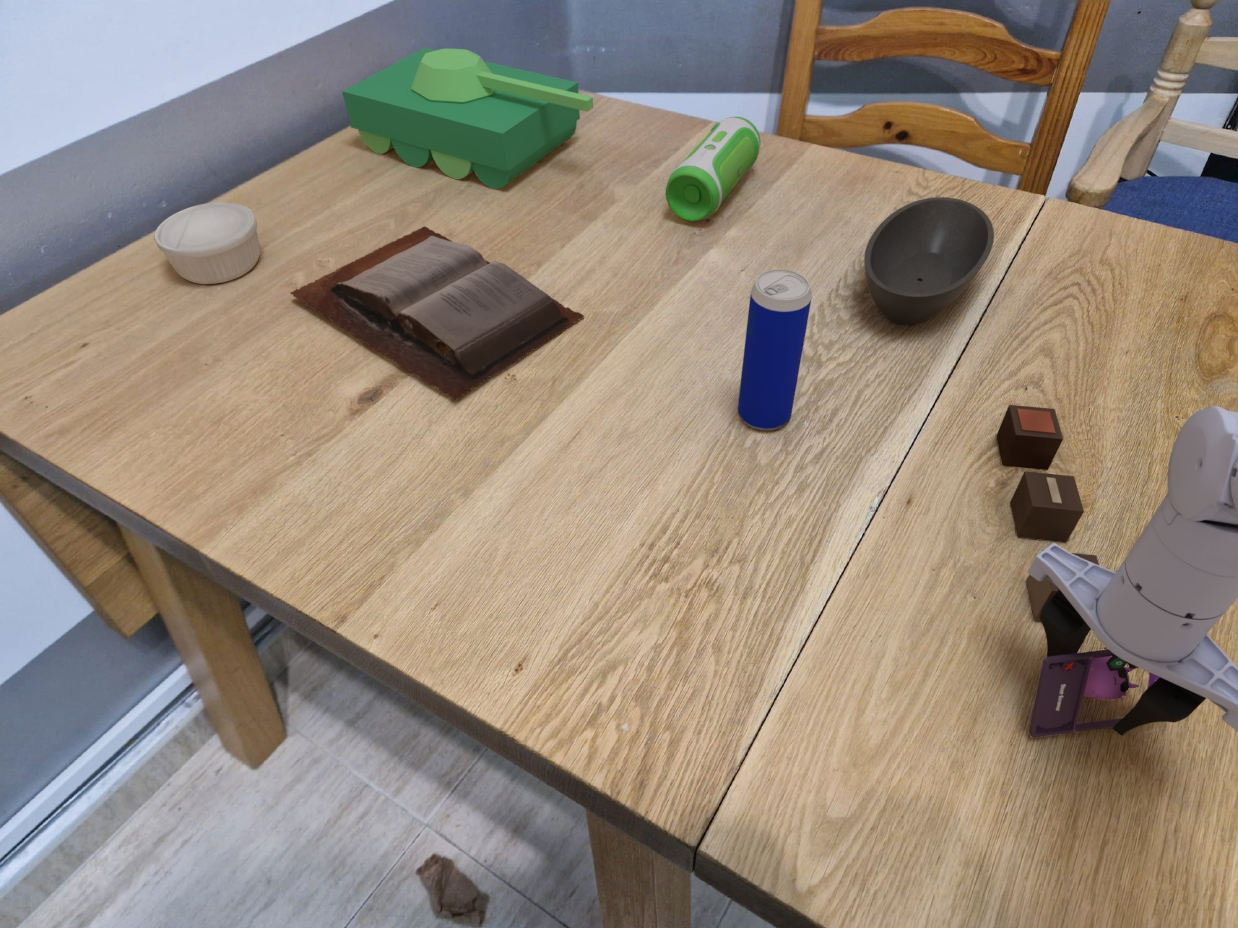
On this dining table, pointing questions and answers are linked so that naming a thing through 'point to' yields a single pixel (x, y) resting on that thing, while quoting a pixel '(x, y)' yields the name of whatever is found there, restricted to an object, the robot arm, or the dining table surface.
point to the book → (439, 309)
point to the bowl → (926, 257)
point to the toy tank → (465, 114)
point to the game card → (1078, 690)
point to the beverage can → (773, 348)
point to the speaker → (713, 169)
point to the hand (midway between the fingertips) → (1090, 696)
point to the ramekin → (210, 242)
